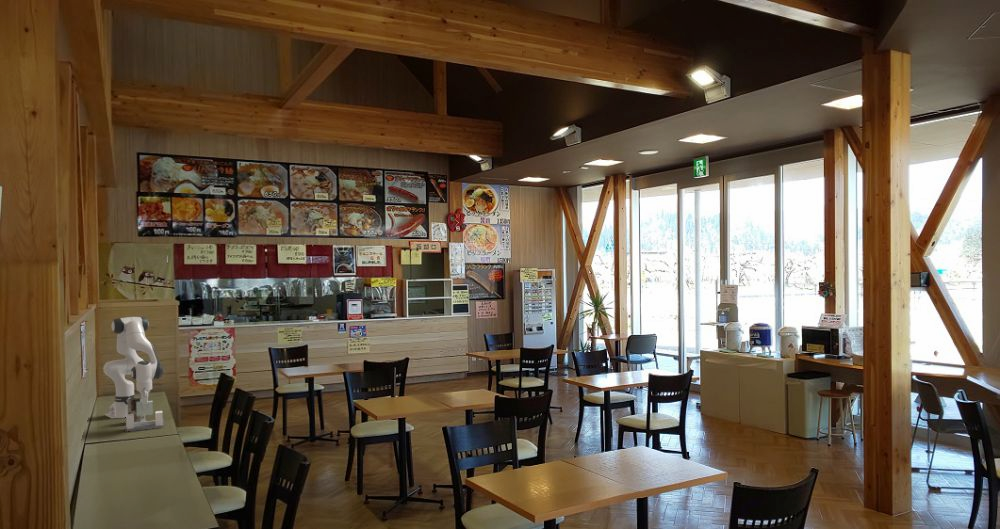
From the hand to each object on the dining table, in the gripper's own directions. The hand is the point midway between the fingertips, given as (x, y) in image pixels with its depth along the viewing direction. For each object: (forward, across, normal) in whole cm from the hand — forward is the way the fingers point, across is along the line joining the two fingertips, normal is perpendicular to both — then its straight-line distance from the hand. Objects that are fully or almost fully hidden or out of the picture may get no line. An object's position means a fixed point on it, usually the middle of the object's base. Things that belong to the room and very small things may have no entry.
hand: (144, 408), depth 422 cm
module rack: (+12, +1, 0) cm, 12 cm away
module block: (+4, 0, 0) cm, 4 cm away
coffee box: (+12, +22, +5) cm, 26 cm away
